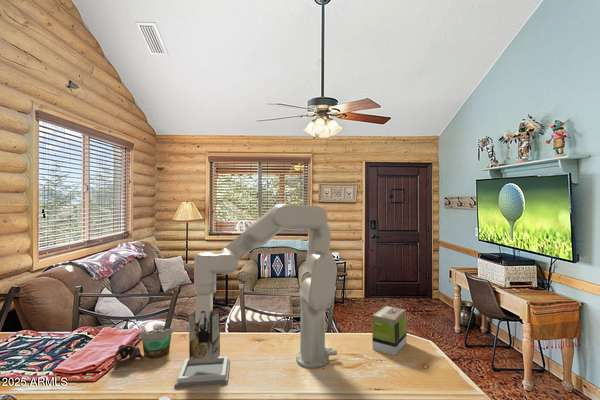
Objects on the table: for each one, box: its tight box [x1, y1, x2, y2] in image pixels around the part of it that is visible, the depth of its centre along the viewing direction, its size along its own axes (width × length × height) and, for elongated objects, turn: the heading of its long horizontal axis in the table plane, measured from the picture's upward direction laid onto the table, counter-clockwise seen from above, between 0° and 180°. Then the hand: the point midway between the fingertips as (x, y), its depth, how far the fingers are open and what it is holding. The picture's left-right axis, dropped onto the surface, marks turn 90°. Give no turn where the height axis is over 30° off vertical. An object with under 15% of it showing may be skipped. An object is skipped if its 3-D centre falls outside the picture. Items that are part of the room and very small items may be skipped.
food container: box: [139, 326, 174, 360], centre depth 127 cm, size 12×6×10 cm, turn 117°
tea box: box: [371, 305, 408, 356], centre depth 137 cm, size 15×10×15 cm, turn 144°
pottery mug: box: [113, 344, 144, 371], centre depth 121 cm, size 12×10×8 cm
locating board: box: [173, 355, 231, 389], centre depth 114 cm, size 17×15×2 cm
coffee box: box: [188, 309, 221, 363], centre depth 115 cm, size 9×6×16 cm
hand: (204, 336), depth 115 cm, fingers closed on coffee box, 8 cm apart
